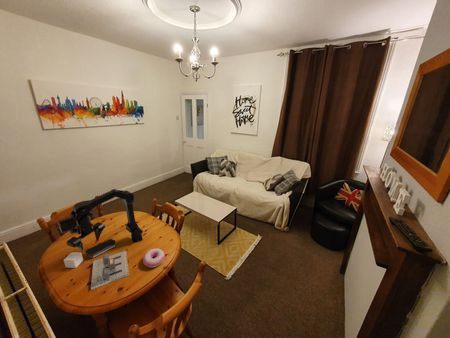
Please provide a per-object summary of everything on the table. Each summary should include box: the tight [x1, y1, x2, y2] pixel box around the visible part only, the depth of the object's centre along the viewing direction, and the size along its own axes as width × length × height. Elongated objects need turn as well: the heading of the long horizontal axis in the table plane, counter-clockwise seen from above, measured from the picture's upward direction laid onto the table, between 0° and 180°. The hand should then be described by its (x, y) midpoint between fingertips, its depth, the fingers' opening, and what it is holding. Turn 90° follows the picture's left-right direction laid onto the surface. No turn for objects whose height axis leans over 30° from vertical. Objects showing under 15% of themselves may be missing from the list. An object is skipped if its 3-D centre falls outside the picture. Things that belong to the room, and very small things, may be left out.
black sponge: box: [85, 238, 117, 259], centre depth 122 cm, size 16×8×4 cm, turn 142°
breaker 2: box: [102, 268, 109, 280], centre depth 102 cm, size 3×4×4 cm
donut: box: [142, 247, 166, 268], centre depth 115 cm, size 14×13×5 cm
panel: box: [90, 250, 130, 291], centre depth 108 cm, size 18×20×2 cm
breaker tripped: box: [109, 259, 115, 269], centre depth 108 cm, size 3×4×4 cm
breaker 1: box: [102, 253, 110, 264], centre depth 111 cm, size 3×4×4 cm
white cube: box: [63, 251, 84, 269], centre depth 110 cm, size 6×6×6 cm
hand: (90, 245), depth 108 cm, fingers open, 9 cm apart
